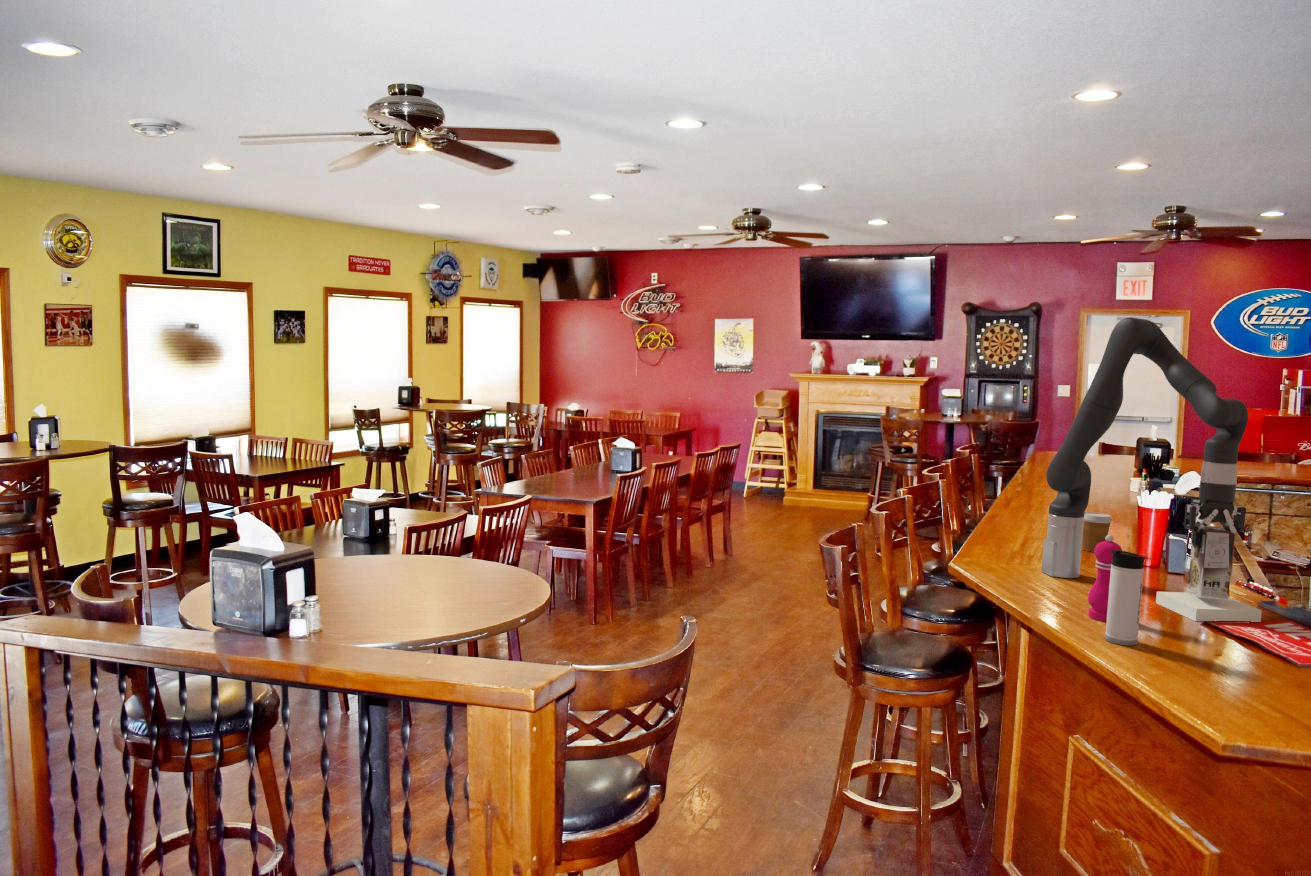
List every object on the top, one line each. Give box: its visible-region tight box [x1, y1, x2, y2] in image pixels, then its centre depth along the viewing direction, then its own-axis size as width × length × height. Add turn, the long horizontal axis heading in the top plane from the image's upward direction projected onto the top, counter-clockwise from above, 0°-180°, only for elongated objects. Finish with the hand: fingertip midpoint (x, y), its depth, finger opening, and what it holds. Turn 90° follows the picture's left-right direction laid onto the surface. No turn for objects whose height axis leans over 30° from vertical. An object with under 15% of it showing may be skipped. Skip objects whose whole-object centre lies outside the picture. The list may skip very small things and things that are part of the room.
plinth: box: [1155, 591, 1262, 622], centre depth 227 cm, size 16×16×3 cm
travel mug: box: [1104, 550, 1145, 647], centre depth 200 cm, size 6×7×20 cm
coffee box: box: [1187, 525, 1236, 599], centre depth 226 cm, size 9×6×16 cm
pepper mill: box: [1087, 534, 1123, 622], centre depth 218 cm, size 7×7×20 cm
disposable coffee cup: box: [1082, 511, 1113, 553], centre depth 299 cm, size 10×10×12 cm
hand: (1211, 547), depth 226 cm, fingers closed on coffee box, 7 cm apart
